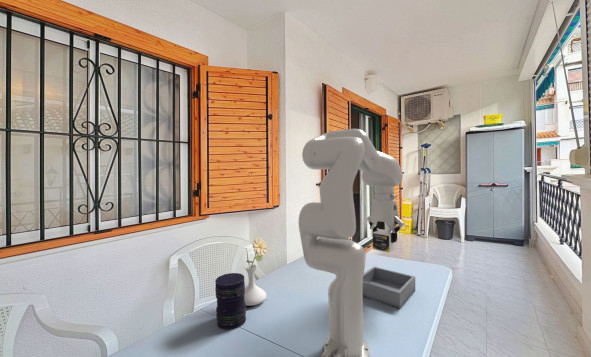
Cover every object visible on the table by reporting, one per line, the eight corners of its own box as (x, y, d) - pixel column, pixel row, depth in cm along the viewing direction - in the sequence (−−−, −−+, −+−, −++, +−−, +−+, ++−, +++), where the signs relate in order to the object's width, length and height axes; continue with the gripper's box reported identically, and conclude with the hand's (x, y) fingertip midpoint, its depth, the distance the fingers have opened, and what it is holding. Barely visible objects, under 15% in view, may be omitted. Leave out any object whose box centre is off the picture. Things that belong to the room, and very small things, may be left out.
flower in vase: (246, 312, 94) (244, 244, 93) (232, 300, 103) (230, 238, 102) (275, 300, 102) (273, 237, 101) (260, 290, 111) (258, 232, 110)
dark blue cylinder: (211, 329, 85) (209, 284, 84) (223, 312, 94) (222, 272, 94) (240, 331, 83) (238, 285, 83) (250, 314, 93) (248, 273, 92)
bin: (399, 309, 93) (399, 293, 93) (355, 294, 105) (354, 279, 105) (415, 290, 107) (415, 276, 107) (374, 279, 119) (373, 266, 118)
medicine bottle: (372, 249, 105) (372, 220, 105) (381, 245, 110) (380, 217, 110) (389, 253, 100) (388, 222, 100) (397, 248, 105) (396, 219, 105)
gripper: (409, 197, 100) (410, 242, 101) (371, 194, 114) (371, 234, 114) (399, 199, 95) (399, 246, 96) (360, 196, 109) (361, 237, 110)
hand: (384, 239), depth 105 cm, fingers closed on medicine bottle, 7 cm apart
